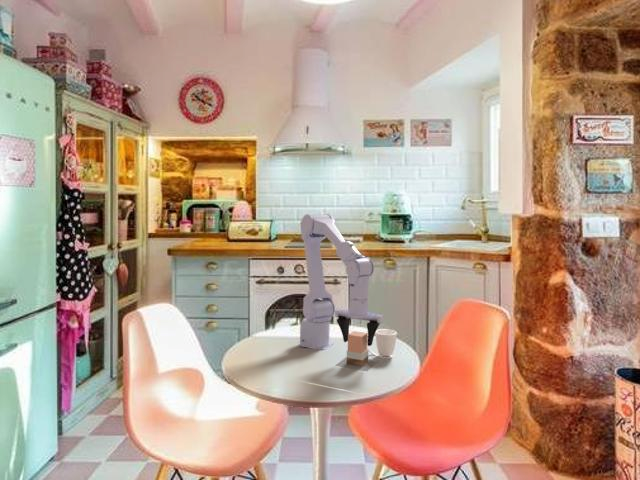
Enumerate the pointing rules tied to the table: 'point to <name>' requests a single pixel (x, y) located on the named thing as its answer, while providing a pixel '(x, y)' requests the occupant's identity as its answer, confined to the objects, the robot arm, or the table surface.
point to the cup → (385, 342)
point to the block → (357, 342)
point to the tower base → (357, 362)
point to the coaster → (364, 368)
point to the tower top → (357, 355)
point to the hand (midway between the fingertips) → (357, 343)
